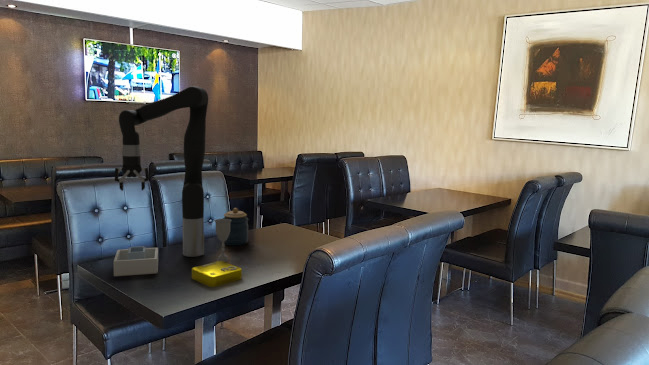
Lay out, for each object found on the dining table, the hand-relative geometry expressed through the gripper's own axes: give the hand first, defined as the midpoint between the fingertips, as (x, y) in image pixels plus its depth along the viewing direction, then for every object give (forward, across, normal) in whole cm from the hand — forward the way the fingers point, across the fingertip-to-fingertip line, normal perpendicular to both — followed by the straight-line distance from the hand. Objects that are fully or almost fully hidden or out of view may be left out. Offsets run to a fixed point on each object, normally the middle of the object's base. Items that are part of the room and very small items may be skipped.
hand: (132, 190), depth 213 cm
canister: (+28, -47, -4) cm, 55 cm away
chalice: (+28, -38, +24) cm, 53 cm away
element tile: (+29, -33, +46) cm, 63 cm away
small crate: (+27, -3, +27) cm, 38 cm away
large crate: (+28, -3, +27) cm, 39 cm away
